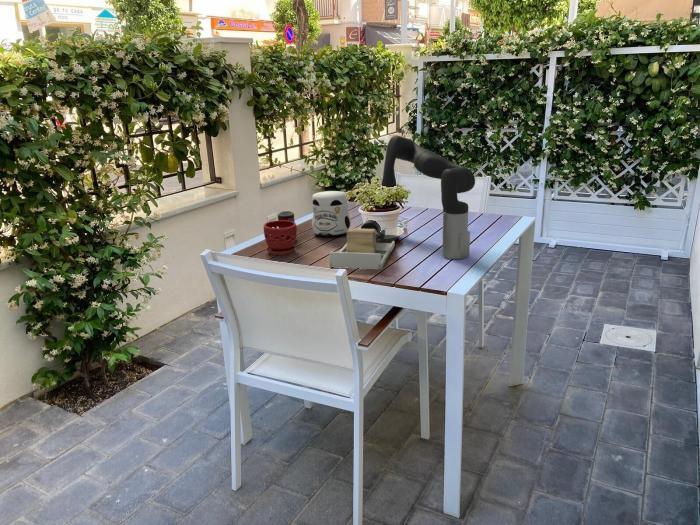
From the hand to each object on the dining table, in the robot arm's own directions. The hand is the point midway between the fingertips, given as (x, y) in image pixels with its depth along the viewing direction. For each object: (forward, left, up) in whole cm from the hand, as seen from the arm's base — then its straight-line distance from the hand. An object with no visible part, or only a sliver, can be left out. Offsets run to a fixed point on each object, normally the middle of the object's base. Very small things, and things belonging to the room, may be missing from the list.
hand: (363, 239), depth 206 cm
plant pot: (+31, +15, -7) cm, 35 cm away
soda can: (+43, +2, -7) cm, 44 cm away
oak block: (-1, +2, -6) cm, 6 cm away
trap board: (+1, -1, -7) cm, 7 cm away
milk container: (+34, -16, -7) cm, 38 cm away
